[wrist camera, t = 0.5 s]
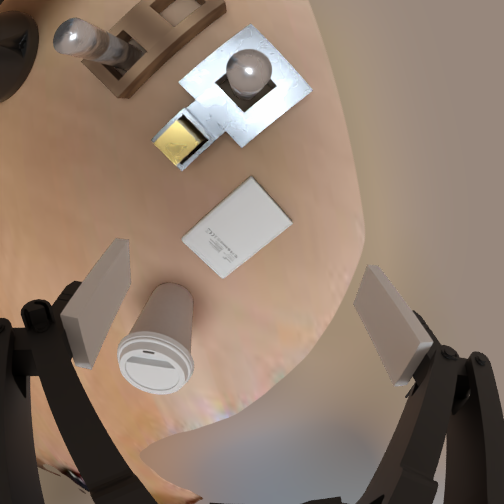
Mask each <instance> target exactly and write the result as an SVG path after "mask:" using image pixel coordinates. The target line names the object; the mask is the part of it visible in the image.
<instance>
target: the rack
mask: <svg viewBox="0 0 504 504" xmlns="http://www.w3.org/2000/svg"><path fill="white" fill-rule="evenodd" d="M174 1H175V0H141V1H140V2H139V3H138V4H137V5H135V6H134V7H133V8H132V9H131V10H130V11H129V12H128V13H127V14H126V15H125V16H123V17H122V18H121V19H120V20H119V21H118V22H117V23H116V24H115V25H114V26H113V27H112V28H111V29H110V30H109V31H108V33H110V34H112V35H114V36H116V37H118V38H120V39H122V40H124V41H125V42H127V43H128V42H129V41H130V40H131V39H132V38H133V39H134V40H135V41H136V42H138V43H139V44H140V45H141V46H142V47H143V48H144V49H145V50H146V51H147V52H146V53H145V54H144V55H143V56H142V57H141V58H140V59H139V60H138V61H137V62H136V63H135V64H134V65H133V66H132V67H131V68H130V69H129V70H128V71H127V72H126V74H125V75H124V76H122V75H121V74H120V73H119V72H118V71H117V70H116V69H115V68H114V67H113V66H110V65H106V64H102V63H99V62H95V61H91V60H87V59H83V60H82V61H81V62H82V63H83V64H84V65H85V66H86V67H87V68H88V69H89V70H90V71H91V72H92V73H93V74H94V75H95V76H96V77H97V78H98V79H99V80H100V81H101V82H102V83H103V84H104V85H105V86H106V87H107V88H108V89H109V90H110V91H111V92H112V93H113V94H114V95H115V96H116V97H117V98H128V99H129V98H130V97H131V96H132V95H133V94H134V93H135V92H136V91H137V90H138V89H139V88H140V86H141V85H142V84H143V83H144V82H145V81H146V80H147V79H148V78H149V77H150V76H151V75H153V74H154V73H155V72H156V71H157V70H158V69H159V68H160V67H161V66H162V65H163V64H164V63H165V62H166V61H167V60H168V59H169V58H171V57H172V56H173V55H174V54H175V53H176V52H177V51H178V50H180V49H181V48H182V47H183V46H184V45H185V44H186V43H188V42H189V41H190V40H191V39H192V38H194V37H195V36H196V35H197V34H199V33H200V32H201V31H202V30H203V29H205V28H206V27H207V26H209V25H210V24H211V23H212V22H214V21H215V20H216V19H218V18H219V17H220V16H222V15H223V14H224V13H226V5H225V1H224V0H196V1H197V2H198V3H199V4H201V5H202V6H200V7H199V8H198V9H196V10H195V11H194V12H193V13H191V14H190V15H189V16H187V17H186V18H185V19H184V20H183V21H181V22H180V23H179V24H178V25H177V26H175V27H173V26H172V25H171V24H170V23H169V22H167V21H166V20H165V19H164V18H163V17H162V16H161V15H159V13H160V12H162V11H163V10H164V9H165V8H166V7H168V6H169V5H170V4H171V3H172V2H174Z"/></svg>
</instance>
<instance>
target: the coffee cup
mask: <svg viewBox="0 0 504 504" xmlns="http://www.w3.org/2000/svg"><path fill="white" fill-rule="evenodd" d="M192 318H193V298H192V295H191V294H190V292H189V291H188V290H187V289H186V288H184V287H183V286H181V285H179V284H175V283H164V284H161V285H159V286H158V287H156V289H155V290H154V291H153V293H152V295H151V296H150V298H149V300H148V302H147V303H146V305H145V307H144V308H143V310H142V312H141V314H140V315H139V317H138V319H137V321H136V322H135V324H134V326H133V328H132V329H131V331H130V333H129V335H127V336H125V337H124V338H123V339H122V340H121V341H120V343H119V345H118V349H117V358H118V363H119V367H120V371H121V373H122V375H123V376H124V378H125V379H126V380H127V381H128V382H129V383H131V384H132V385H133V386H135V387H136V388H138V389H140V390H143V391H145V392H148V393H153V394H170V393H174V392H176V391H178V390H179V389H181V388H182V386H183V385H184V384H185V383H186V382H187V381H188V380H189V379H190V377H191V376H192V374H193V371H194V361H193V358H192V356H191V337H192Z"/></svg>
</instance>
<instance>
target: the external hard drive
mask: <svg viewBox="0 0 504 504" xmlns="http://www.w3.org/2000/svg"><path fill="white" fill-rule="evenodd" d="M292 224H293V222H292V220H291V219H290V218H289V217H288V216H287V215H286V214H285V212H284V211H283V210H282V209H281V208H280V207H279V206H278V204H277V203H276V202H275V201H274V200H273V199H272V198H271V197H270V196H269V194H268V193H267V192H266V191H265V190H264V189H263V188H262V187H261V186H260V184H259V183H258V182H257V181H256V180H255V179H254V178H253V177H252V176H250V177H249V178H248V179H246V180H245V181H244V182H243V183H242V184H241V185H239V186H238V187H237V188H236V189H235V190H234V191H233V192H231V193H230V194H229V195H228V196H227V197H226V198H225V199H224V200H222V201H221V202H220V203H219V204H218V205H217V206H216V207H215V208H213V209H212V210H211V211H210V212H209V213H208V214H207V215H206V216H205V217H203V218H202V219H201V220H200V221H199V222H198V223H197V224H196V225H195V226H194V227H193V228H191V229H190V230H189V231H188V232H187V233H186V234H185V235H184V236H183V237H182V239H181V240H182V241H183V242H184V243H185V244H186V245H187V246H188V247H189V248H190V249H191V250H192V251H193V252H194V253H195V254H196V255H197V256H198V257H200V258H201V259H202V260H203V261H204V262H205V263H206V264H207V265H208V266H209V267H210V268H211V269H212V270H213V271H214V272H216V273H217V274H218V275H219V276H220V277H221V278H223V279H224V278H225V277H226V276H228V275H229V274H230V273H231V272H233V271H234V270H235V269H236V268H238V267H239V266H240V265H242V264H243V263H244V262H245V261H247V260H248V259H249V258H250V257H252V256H253V255H254V254H255V253H257V252H258V251H259V250H260V249H262V248H263V247H264V246H265V245H267V244H268V243H269V242H271V241H272V240H273V239H274V238H276V237H277V236H278V235H279V234H280V233H282V232H283V231H284V230H286V229H287V228H288V227H289V226H290V225H292Z"/></svg>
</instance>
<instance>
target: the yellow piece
mask: <svg viewBox="0 0 504 504" xmlns="http://www.w3.org/2000/svg"><path fill="white" fill-rule="evenodd" d="M204 139H206V138H205V137H204V136H203V135H202V134H201V133H200V132H199V130H198V129H197V128H196V127H195V126H194V125H193V124H192V123H191V122H190V121H189V120H188V119H182V120H176V121H175V122H174V123H173V124H172V125H171V126H170V127H169V128H168V129H167V130H166V131H165V132H164V133H163V134H162V135H161V136H160V137H159V138H158V139H157V140H156V141H155V142H154V144H155V145H156V146H157V147H158V148H159V149H160V150H161V151H162V153H163V154H164V155H165V156H166V157H167V158H168V159H169V160H170V161H171V162H172V163H173V164H174V165H175V166H176V165H177V164H178V163H179V162H181V161H182V160H183V159H184V158H185V157H186V156H187V155H188V154H189V153H190V152H192V151H193V150H194V149H195V148H196V147H197V146H198V145H199V144H200V143H201V142H202V141H203V140H204Z"/></svg>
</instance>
